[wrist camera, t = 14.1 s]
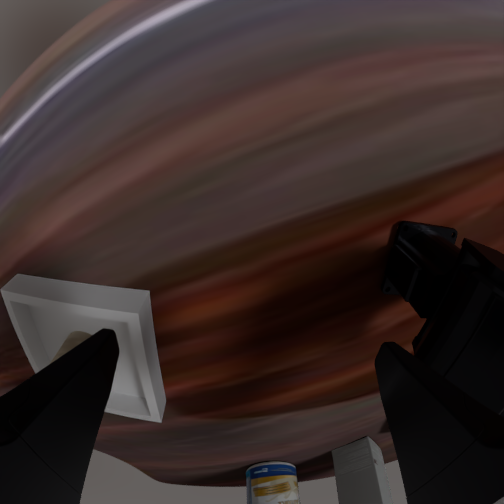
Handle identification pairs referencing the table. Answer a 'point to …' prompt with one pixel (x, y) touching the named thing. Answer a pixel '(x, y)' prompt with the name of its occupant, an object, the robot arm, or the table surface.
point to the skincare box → (361, 474)
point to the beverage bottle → (272, 483)
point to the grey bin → (91, 321)
